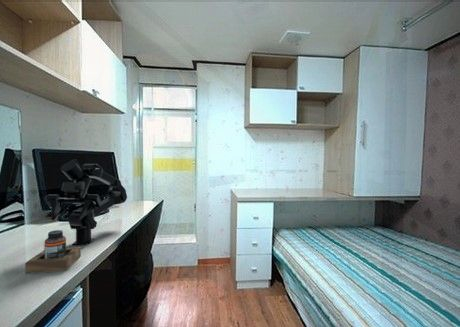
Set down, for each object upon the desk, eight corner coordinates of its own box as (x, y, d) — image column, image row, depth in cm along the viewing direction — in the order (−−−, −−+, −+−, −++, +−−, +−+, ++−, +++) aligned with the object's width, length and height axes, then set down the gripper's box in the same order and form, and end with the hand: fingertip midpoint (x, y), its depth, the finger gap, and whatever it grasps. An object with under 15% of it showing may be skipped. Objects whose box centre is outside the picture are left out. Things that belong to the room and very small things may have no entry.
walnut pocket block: (45, 258, 84) (45, 249, 84) (80, 256, 86) (80, 247, 86) (25, 273, 72) (25, 262, 72) (66, 270, 75) (66, 259, 75)
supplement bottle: (52, 260, 82) (52, 229, 82) (69, 260, 83) (70, 229, 82) (39, 268, 76) (40, 234, 76) (58, 268, 77) (59, 234, 77)
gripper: (47, 174, 91) (27, 208, 80) (98, 174, 94) (86, 207, 83) (58, 191, 98) (41, 224, 88) (105, 191, 102) (95, 223, 91)
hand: (66, 219), depth 87 cm, fingers open, 9 cm apart
